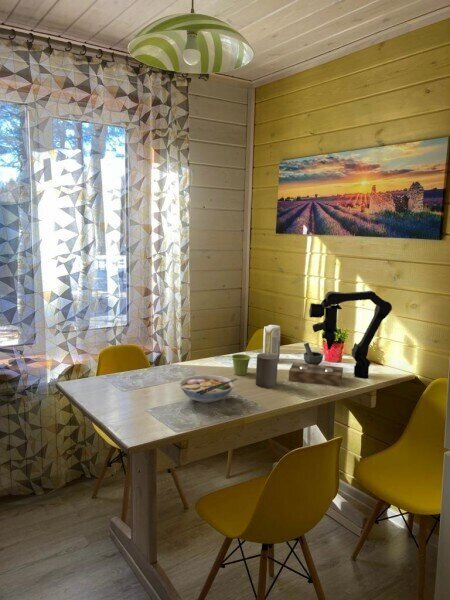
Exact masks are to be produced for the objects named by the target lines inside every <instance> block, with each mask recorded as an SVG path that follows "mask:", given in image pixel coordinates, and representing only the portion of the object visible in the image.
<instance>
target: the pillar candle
mask: <svg viewBox="0 0 450 600" xmlns="http://www.w3.org/2000/svg"><path fill="white" fill-rule="evenodd" d="M256 355H257V356H256V369H255V371H256V372H255V386H257V387H259V388H261V389H262V388H264V389H271V388H276V386H277V384H278V383H277V381H278V380H277V379H278V365H279V363H278V362H279V360H278V356H277V355H275V354H271V353H263V352H261V353H258V354H256Z"/></svg>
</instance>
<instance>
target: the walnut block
mask: <svg viewBox="0 0 450 600" xmlns="http://www.w3.org/2000/svg"><path fill="white" fill-rule="evenodd" d="M300 366H307V367H308V369H300ZM326 368H331V369H334V372H328V371H325V369H326ZM343 371H344V368H343V367H342V366H334V365H333V366H331V365H321V364H319V365H313V364H307V363H300V362H292V364H291V366H290V369H289V371H288V382H289V381H290V382H296V383H305V382H306V384H307V383H309V384H316V385H325V386H326V385H327V386H335V387H341V386H342V382H343V381H342V380H343Z"/></svg>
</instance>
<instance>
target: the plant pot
mask: <svg viewBox="0 0 450 600" xmlns="http://www.w3.org/2000/svg"><path fill="white" fill-rule="evenodd" d="M251 358H252V357H251V355H249V354H244V353H237V354H232V355H231V360H232V364H233V374H234V375H236V376H241V377H242V376H244V375H245V376H246V375H247V374H248V367H249V363H250V360H251Z"/></svg>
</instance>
